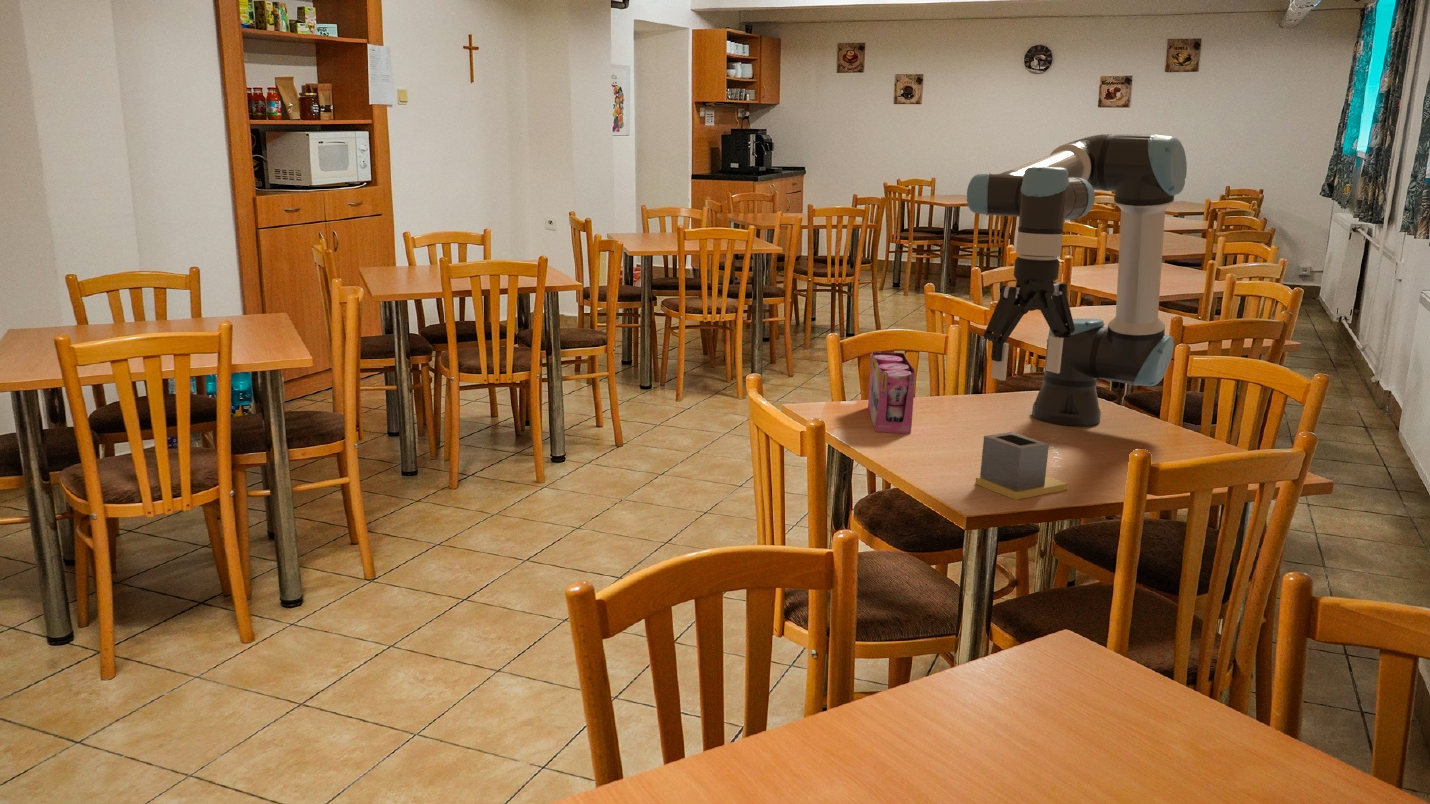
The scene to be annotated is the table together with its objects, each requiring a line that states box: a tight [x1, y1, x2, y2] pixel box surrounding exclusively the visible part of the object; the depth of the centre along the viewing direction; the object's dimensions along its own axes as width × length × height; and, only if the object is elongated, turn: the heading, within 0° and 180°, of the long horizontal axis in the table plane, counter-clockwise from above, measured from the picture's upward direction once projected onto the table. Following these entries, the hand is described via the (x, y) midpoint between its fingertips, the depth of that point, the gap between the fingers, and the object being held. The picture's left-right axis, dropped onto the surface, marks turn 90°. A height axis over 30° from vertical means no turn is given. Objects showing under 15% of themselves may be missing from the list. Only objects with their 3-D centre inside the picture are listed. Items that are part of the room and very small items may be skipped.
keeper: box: [974, 475, 1068, 501], centre depth 193 cm, size 13×10×7 cm
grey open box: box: [979, 431, 1050, 492], centre depth 192 cm, size 9×7×8 cm
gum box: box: [867, 351, 916, 434], centre depth 237 cm, size 24×8×14 cm, turn 177°
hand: (1025, 375), depth 190 cm, fingers open, 13 cm apart
